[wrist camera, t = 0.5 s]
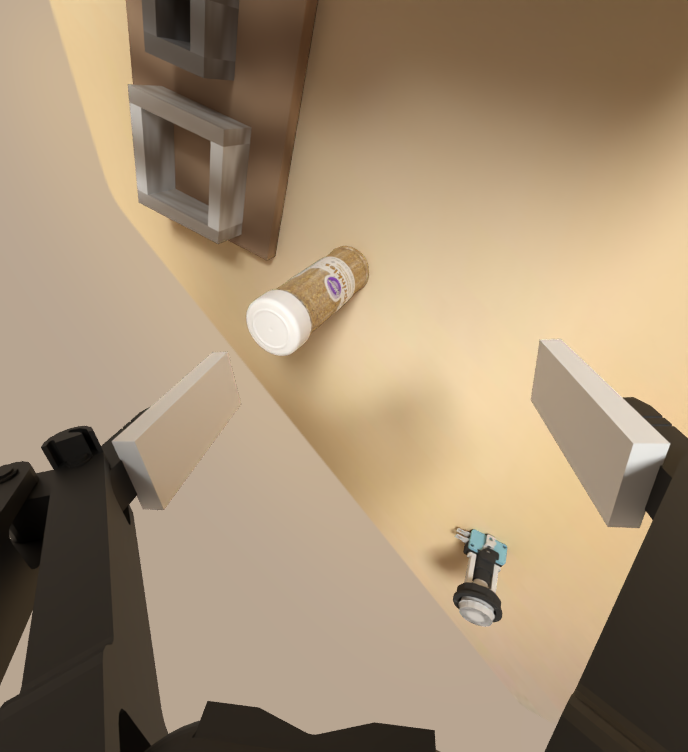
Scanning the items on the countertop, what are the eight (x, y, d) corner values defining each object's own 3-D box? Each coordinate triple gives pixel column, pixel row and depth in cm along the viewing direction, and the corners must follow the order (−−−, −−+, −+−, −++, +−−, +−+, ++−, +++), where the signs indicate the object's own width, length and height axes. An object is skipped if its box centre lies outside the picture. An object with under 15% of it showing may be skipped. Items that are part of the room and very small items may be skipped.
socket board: (134, -103, 27) (68, -136, 23) (323, -31, 25) (282, -55, 21) (153, 193, 41) (114, 201, 37) (275, 256, 39) (245, 271, 35)
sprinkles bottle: (379, 273, 35) (310, 340, 25) (347, 299, 38) (274, 367, 28) (349, 233, 34) (265, 286, 24) (318, 262, 37) (233, 320, 27)
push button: (451, 534, 51) (434, 605, 44) (465, 515, 48) (450, 589, 41) (497, 558, 50) (488, 636, 43) (516, 540, 47) (509, 622, 39)
